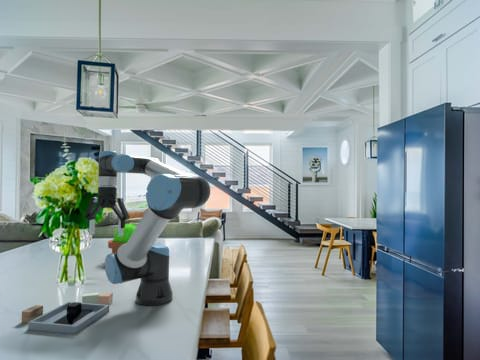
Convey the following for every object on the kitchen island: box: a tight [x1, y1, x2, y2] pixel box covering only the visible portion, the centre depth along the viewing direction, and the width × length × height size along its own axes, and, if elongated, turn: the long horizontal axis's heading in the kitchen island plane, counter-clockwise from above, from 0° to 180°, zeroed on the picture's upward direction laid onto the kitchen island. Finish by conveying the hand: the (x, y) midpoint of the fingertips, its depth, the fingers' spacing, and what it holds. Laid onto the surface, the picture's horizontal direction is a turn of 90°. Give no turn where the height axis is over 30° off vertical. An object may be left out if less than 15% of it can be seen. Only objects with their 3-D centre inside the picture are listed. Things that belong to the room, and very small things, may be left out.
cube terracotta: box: [99, 292, 114, 306], centre depth 125 cm, size 4×4×4 cm
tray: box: [27, 301, 110, 335], centre depth 109 cm, size 18×19×2 cm
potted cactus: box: [107, 222, 137, 253], centre depth 197 cm, size 22×22×25 cm
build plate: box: [53, 301, 93, 325], centre depth 111 cm, size 12×7×5 cm, turn 173°
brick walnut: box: [21, 304, 44, 324], centre depth 110 cm, size 6×3×4 cm, turn 171°
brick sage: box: [81, 291, 100, 304], centre depth 125 cm, size 6×3×4 cm, turn 111°
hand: (106, 235), depth 133 cm, fingers open, 13 cm apart
